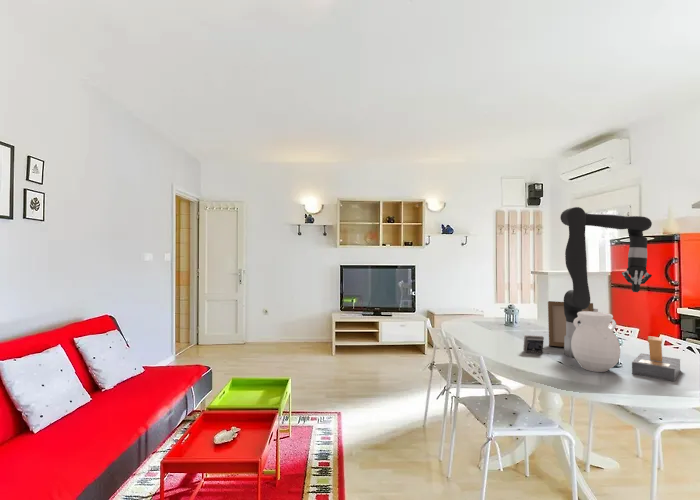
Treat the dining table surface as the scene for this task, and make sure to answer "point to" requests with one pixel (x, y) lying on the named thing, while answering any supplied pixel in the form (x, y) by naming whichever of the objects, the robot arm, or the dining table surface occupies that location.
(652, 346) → the lever
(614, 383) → the dining table surface
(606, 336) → the white ceramic vase
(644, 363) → the box
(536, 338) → the electrical switch
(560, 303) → the photo frame
